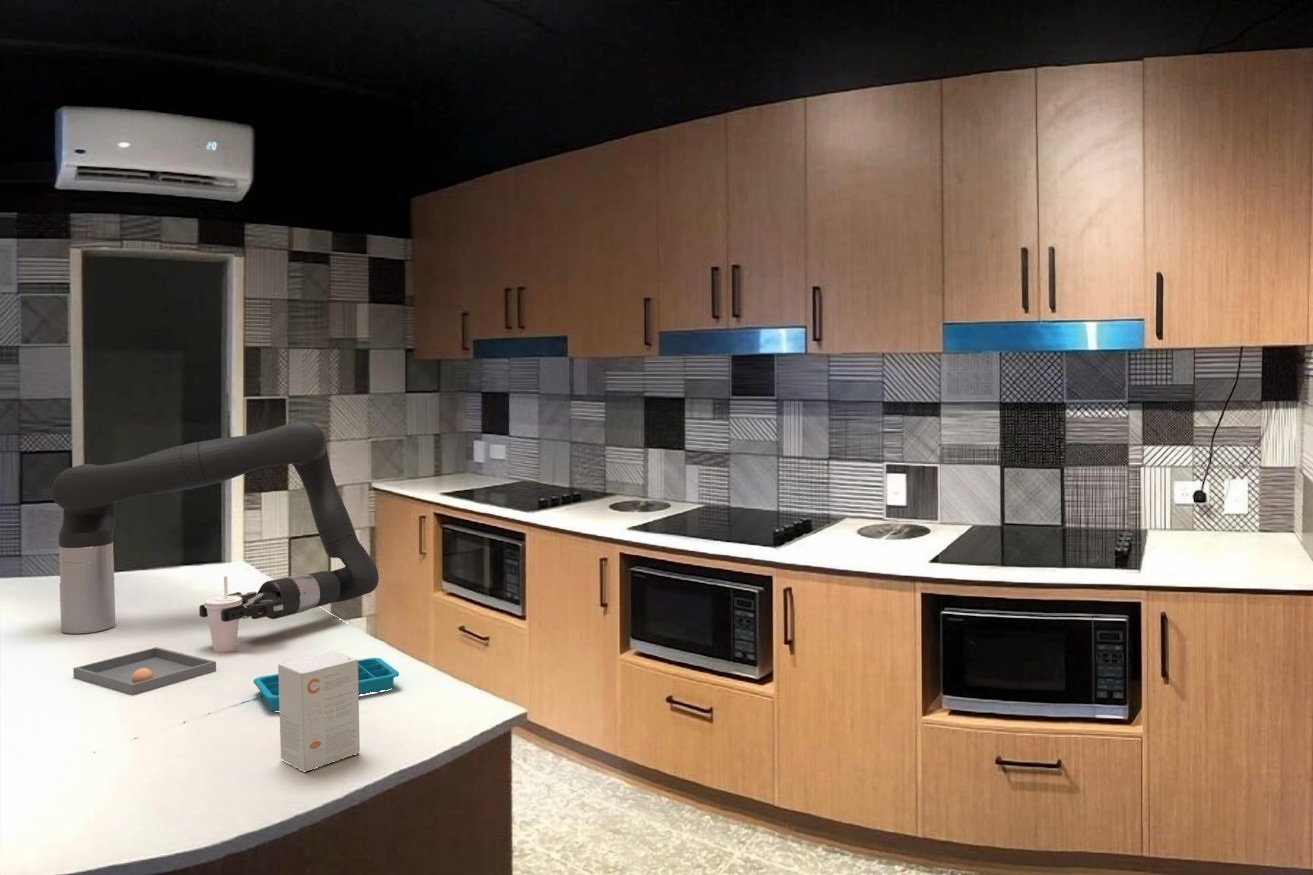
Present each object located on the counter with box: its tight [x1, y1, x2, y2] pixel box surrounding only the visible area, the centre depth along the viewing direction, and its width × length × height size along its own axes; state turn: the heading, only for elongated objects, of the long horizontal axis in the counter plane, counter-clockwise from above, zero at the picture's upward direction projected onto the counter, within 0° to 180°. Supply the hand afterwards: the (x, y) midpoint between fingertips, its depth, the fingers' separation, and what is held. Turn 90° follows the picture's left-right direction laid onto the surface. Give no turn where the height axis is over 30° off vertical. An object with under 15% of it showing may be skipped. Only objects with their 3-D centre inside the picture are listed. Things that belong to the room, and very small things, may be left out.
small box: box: [277, 650, 361, 772], centre depth 118 cm, size 8×6×13 cm
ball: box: [132, 668, 153, 683], centre depth 145 cm, size 3×3×3 cm
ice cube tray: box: [253, 657, 400, 712], centre depth 144 cm, size 12×20×3 cm, turn 126°
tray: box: [72, 646, 217, 696], centre depth 152 cm, size 17×14×2 cm
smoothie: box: [203, 575, 242, 653], centre depth 166 cm, size 6×6×14 cm
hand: (211, 613), depth 164 cm, fingers closed on smoothie, 6 cm apart
